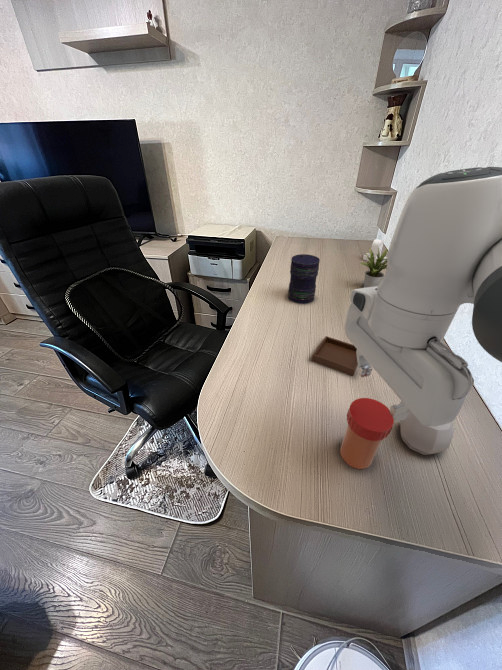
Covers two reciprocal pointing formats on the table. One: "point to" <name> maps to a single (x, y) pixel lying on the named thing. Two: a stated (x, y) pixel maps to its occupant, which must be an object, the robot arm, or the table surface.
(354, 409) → the jar lid
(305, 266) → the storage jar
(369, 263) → the house plant
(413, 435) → the potion bottle
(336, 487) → the table surface
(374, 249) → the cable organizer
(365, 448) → the jar
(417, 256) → the robot arm
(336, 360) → the tray
